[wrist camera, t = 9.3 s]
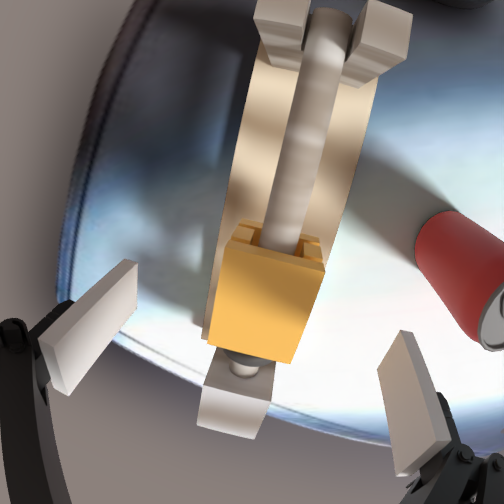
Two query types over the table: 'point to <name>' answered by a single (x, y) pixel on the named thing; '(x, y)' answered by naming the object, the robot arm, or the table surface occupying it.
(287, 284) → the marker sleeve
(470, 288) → the beer can
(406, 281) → the table surface
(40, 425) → the robot arm
